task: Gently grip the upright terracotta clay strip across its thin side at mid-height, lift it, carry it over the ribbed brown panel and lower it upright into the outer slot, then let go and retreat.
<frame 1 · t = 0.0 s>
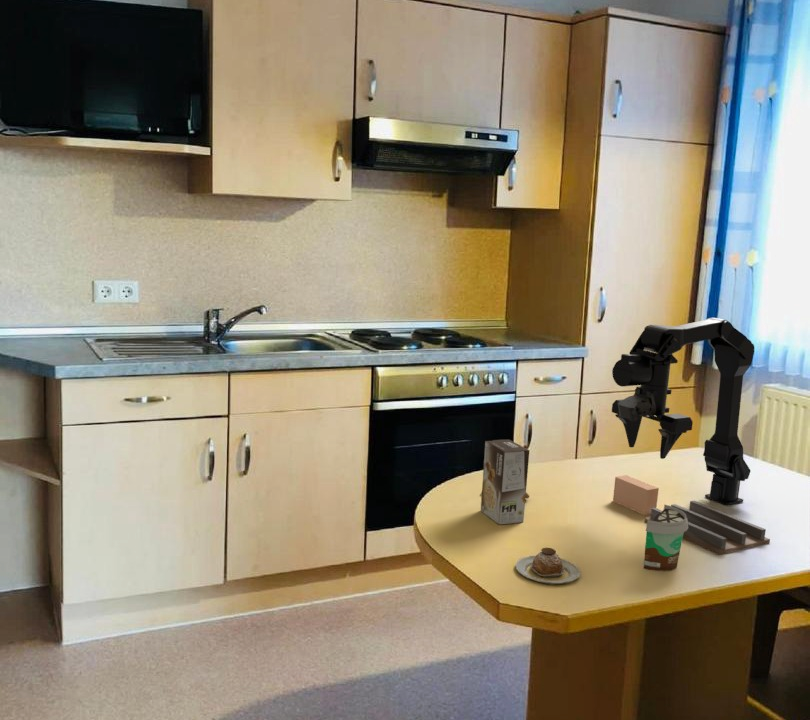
hand: (646, 452, 194), 15 cm above the table, fingers open, 9 cm apart
ribbed brown panel: (705, 531, 189), on the table
pastry: (547, 575, 164), on the table
food container: (666, 565, 171), on the table
coffee box: (501, 517, 192), on the table
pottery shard: (509, 498, 205), on the table
terracotta strip: (633, 507, 203), on the table
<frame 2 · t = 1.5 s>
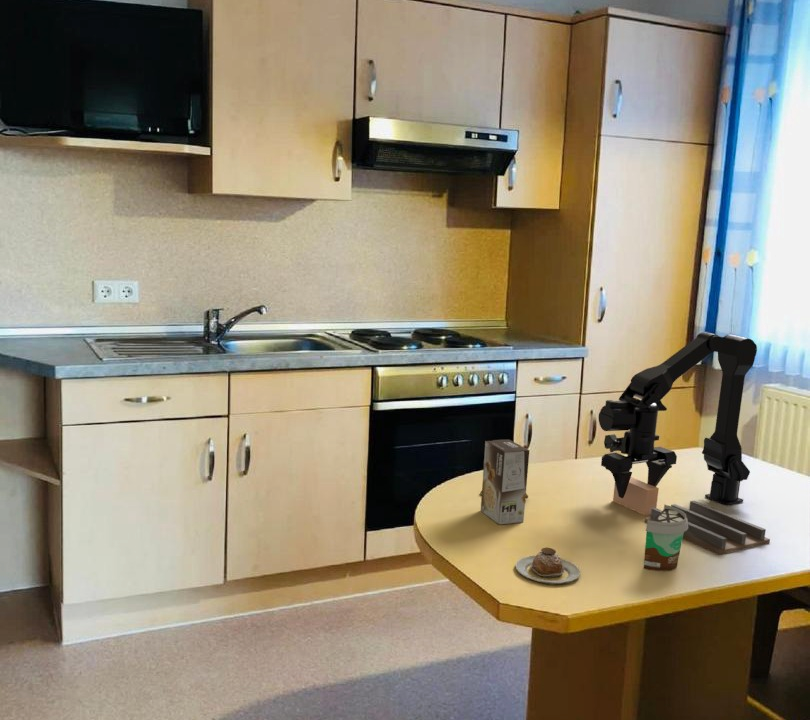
hand: (635, 495, 202), 3 cm above the table, fingers open, 9 cm apart
nothing on the table moved.
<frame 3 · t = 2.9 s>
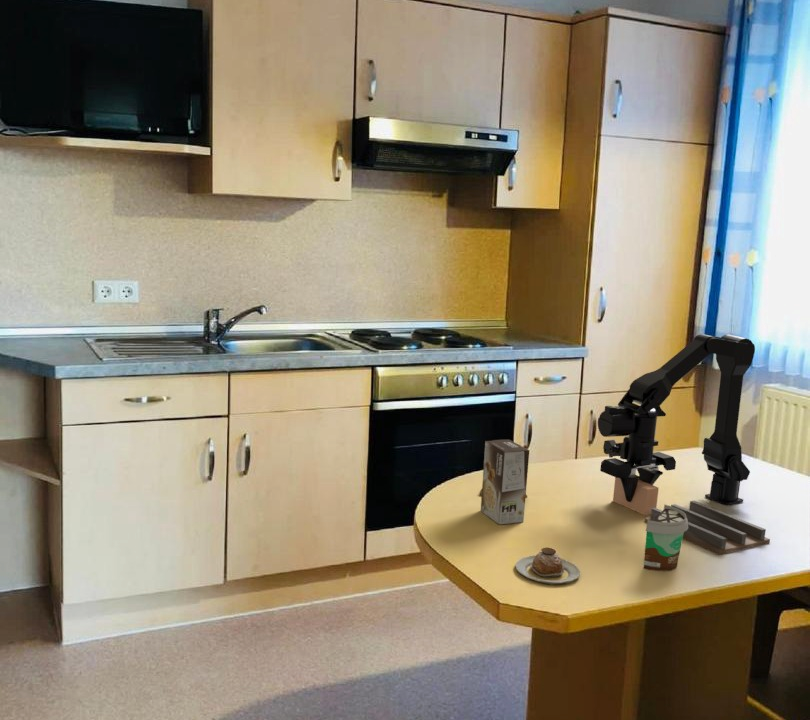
hand: (634, 500, 203), 2 cm above the table, fingers closed on terracotta strip, 3 cm apart
terracotta strip: (633, 506, 203), on the table, touching gripper
everything else where it was.
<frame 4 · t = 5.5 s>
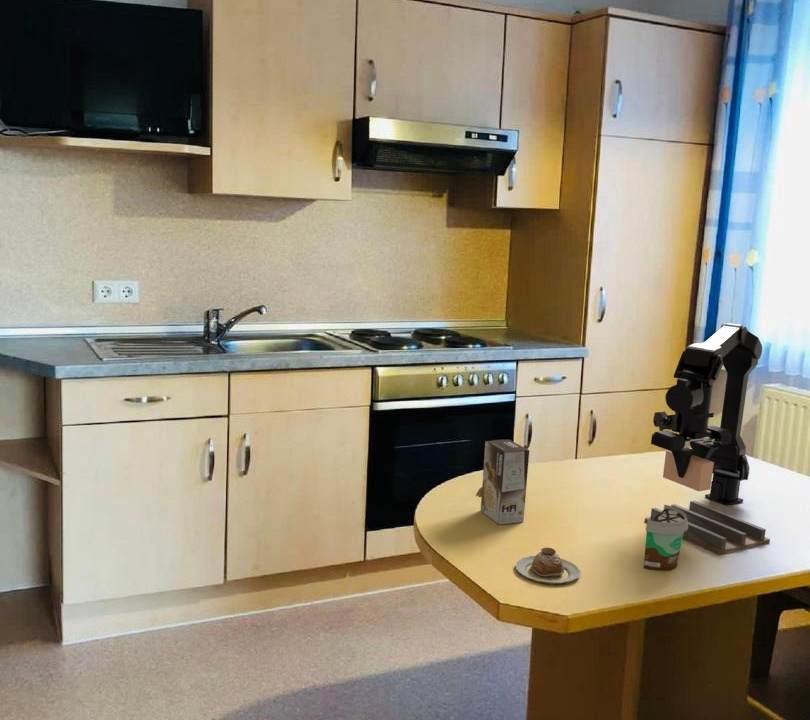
hand: (687, 476, 189), 12 cm above the table, fingers closed on terracotta strip, 3 cm apart
terracotta strip: (686, 483, 189), point 10 cm above the table, touching gripper
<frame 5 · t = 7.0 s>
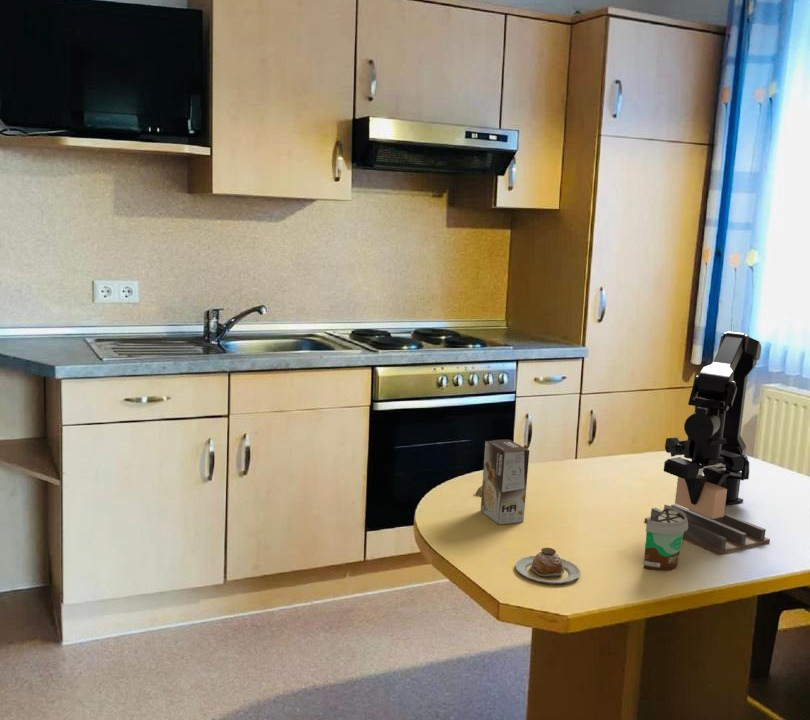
hand: (699, 502, 187), 7 cm above the table, fingers closed on terracotta strip, 3 cm apart
terracotta strip: (698, 509, 187), point 5 cm above the table, touching gripper
when the fingers open (4 cm above the table, at t = 8.4 s): terracotta strip drops 1 cm, resting on ribbed brown panel.
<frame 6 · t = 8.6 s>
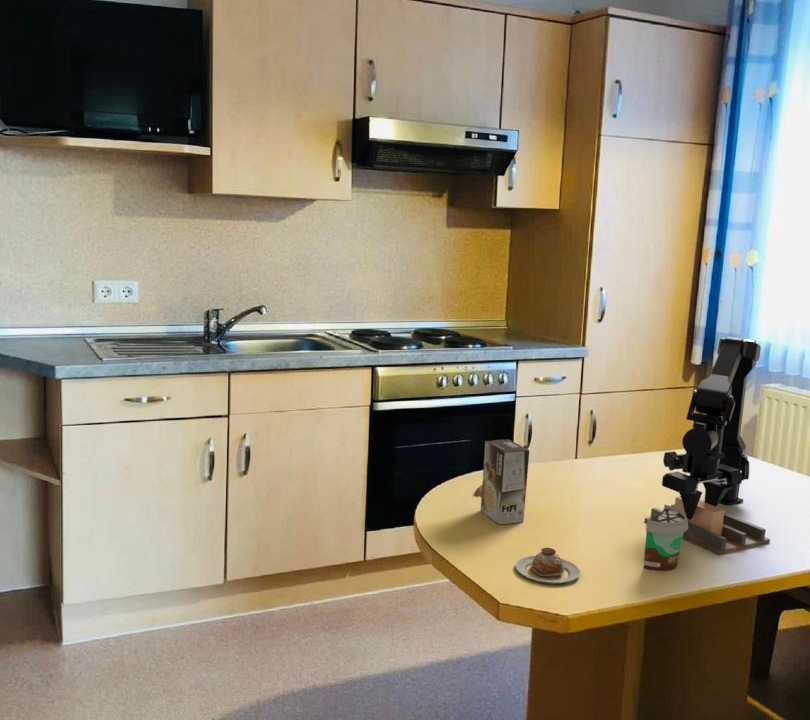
hand: (697, 517, 187), 4 cm above the table, fingers open, 5 cm apart
terracotta strip: (696, 530, 188), point 1 cm above the table, touching ribbed brown panel
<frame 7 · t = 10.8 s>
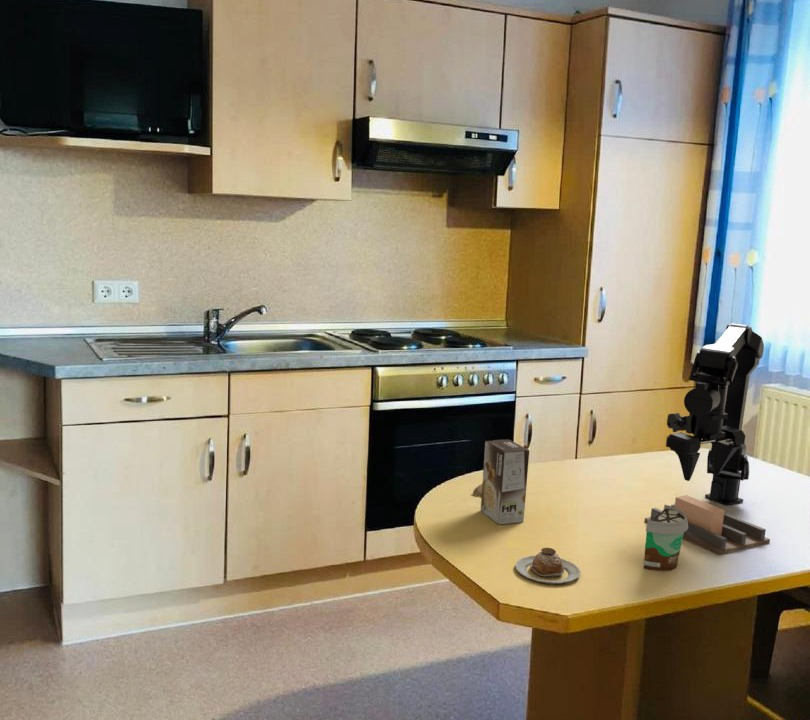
hand: (701, 477, 189), 12 cm above the table, fingers open, 9 cm apart
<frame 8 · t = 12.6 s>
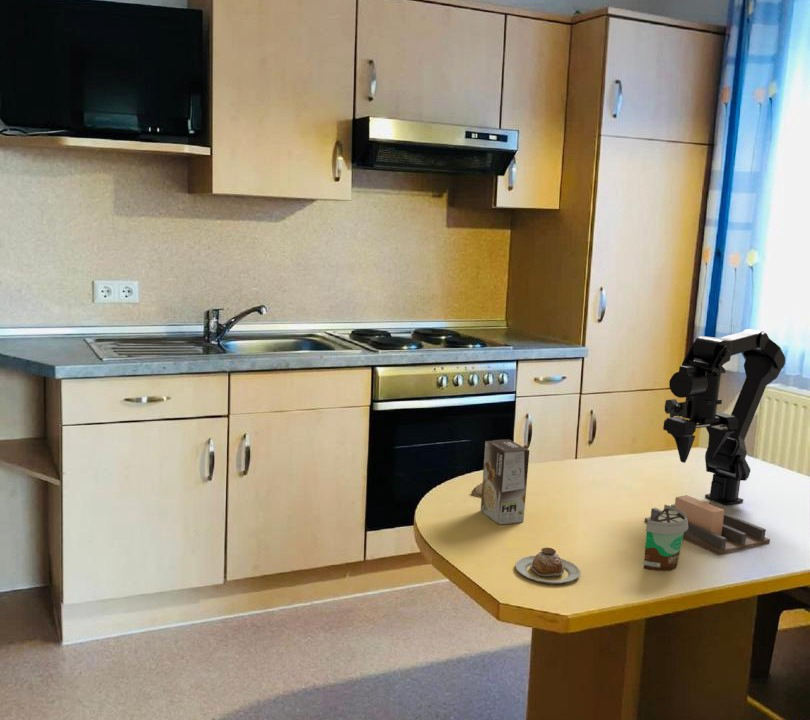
hand: (696, 460, 201), 12 cm above the table, fingers open, 9 cm apart
at the end: terracotta strip inside the target area on the ribbed brown panel (0.1 cm from its centre), point 0.8 cm above the ribbed brown panel's base; terracotta strip tilted 0°; the gripper is holding nothing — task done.
